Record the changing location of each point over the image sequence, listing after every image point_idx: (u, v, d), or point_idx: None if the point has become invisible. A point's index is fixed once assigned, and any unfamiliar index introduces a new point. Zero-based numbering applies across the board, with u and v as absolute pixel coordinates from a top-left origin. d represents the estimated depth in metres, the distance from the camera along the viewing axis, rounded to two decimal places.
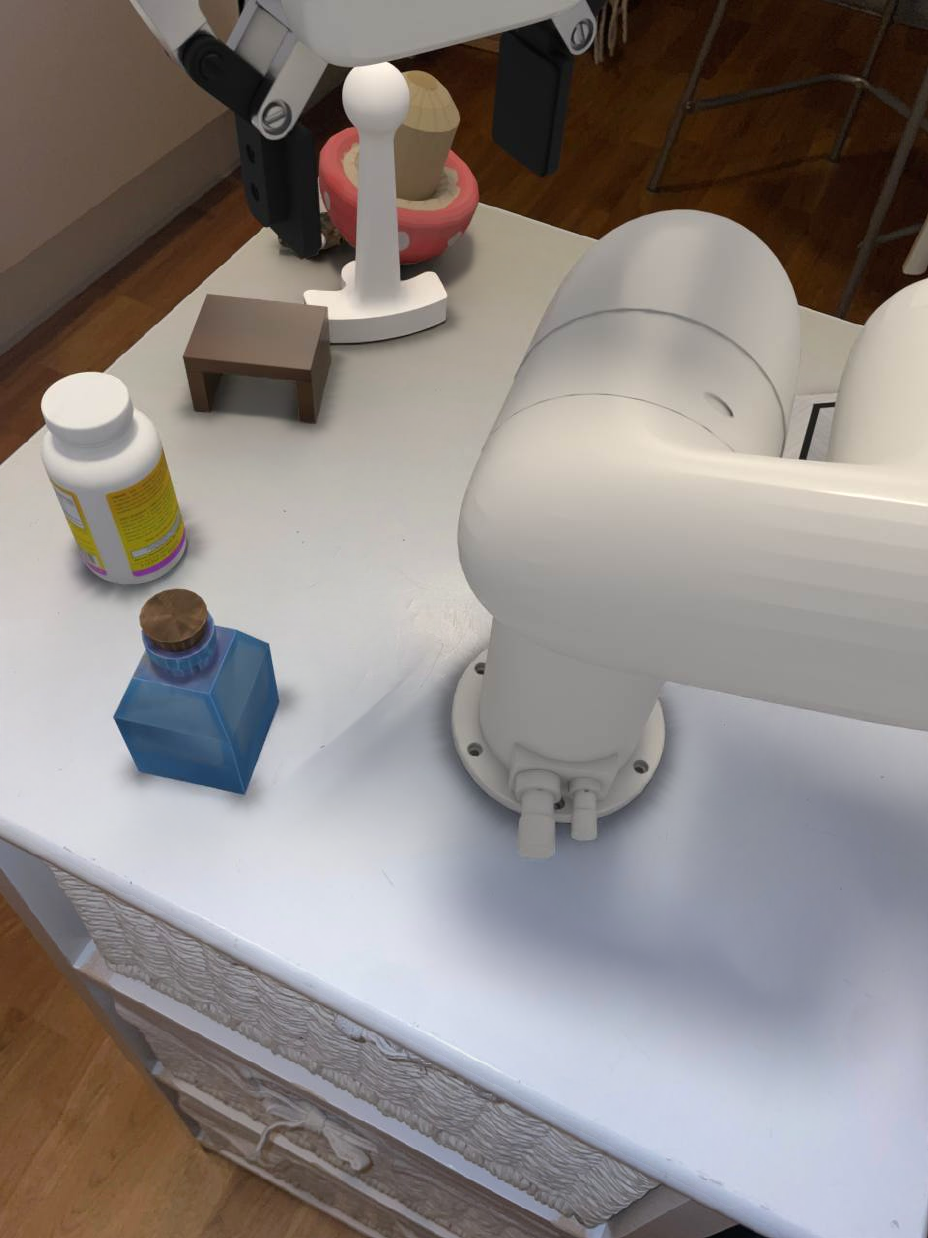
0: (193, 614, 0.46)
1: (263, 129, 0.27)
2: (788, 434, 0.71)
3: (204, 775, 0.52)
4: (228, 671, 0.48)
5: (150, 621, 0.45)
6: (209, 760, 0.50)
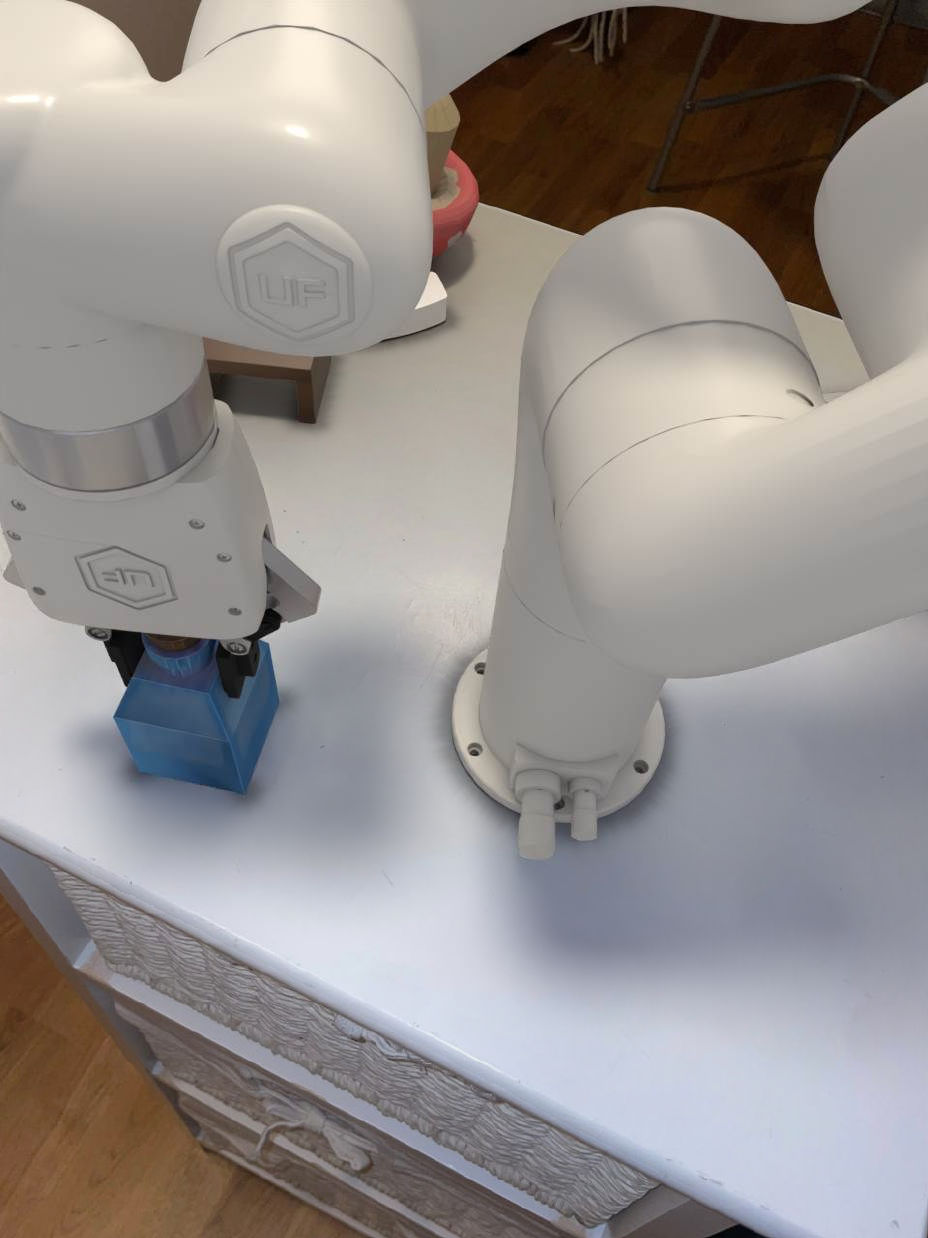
0: None
1: (90, 634, 0.45)
2: None
3: (204, 775, 0.52)
4: None
5: None
6: (209, 760, 0.50)
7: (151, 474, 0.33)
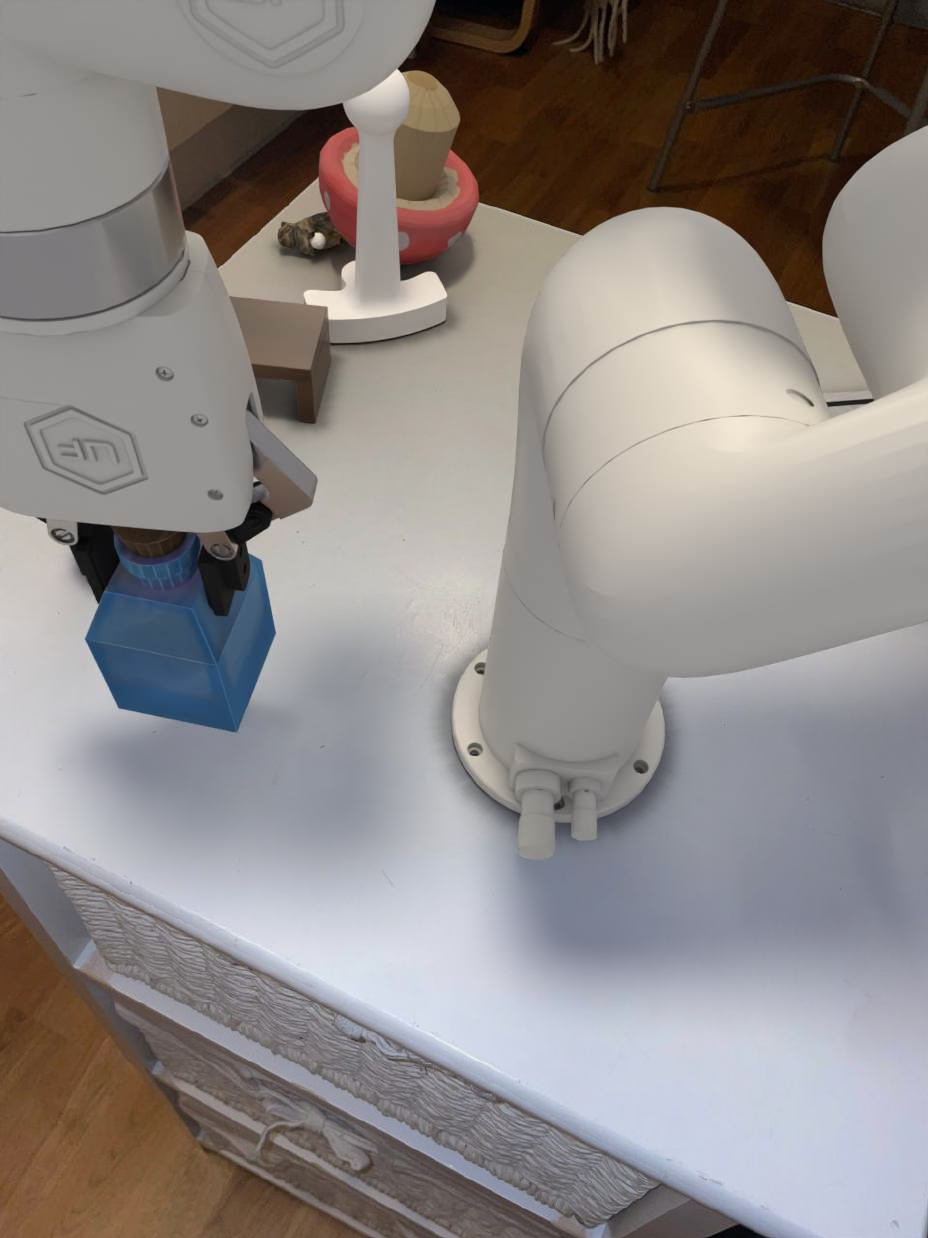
0: None
1: (54, 537, 0.39)
2: None
3: (191, 710, 0.46)
4: None
5: None
6: (195, 690, 0.45)
7: (105, 300, 0.28)
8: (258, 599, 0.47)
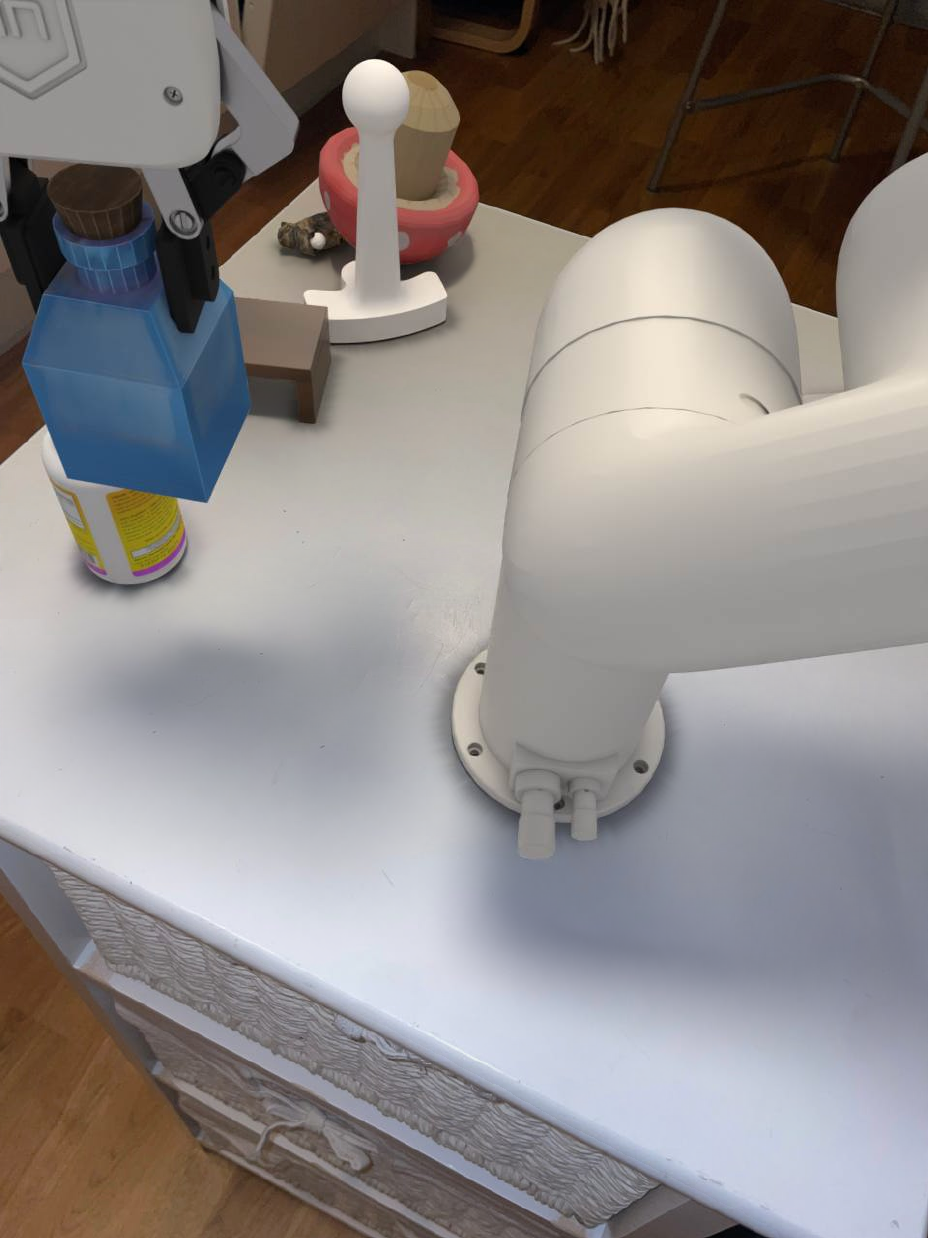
0: (122, 185, 0.33)
1: None
2: None
3: (152, 470, 0.40)
4: None
5: (62, 191, 0.33)
6: (156, 436, 0.38)
7: None
8: (230, 341, 0.40)
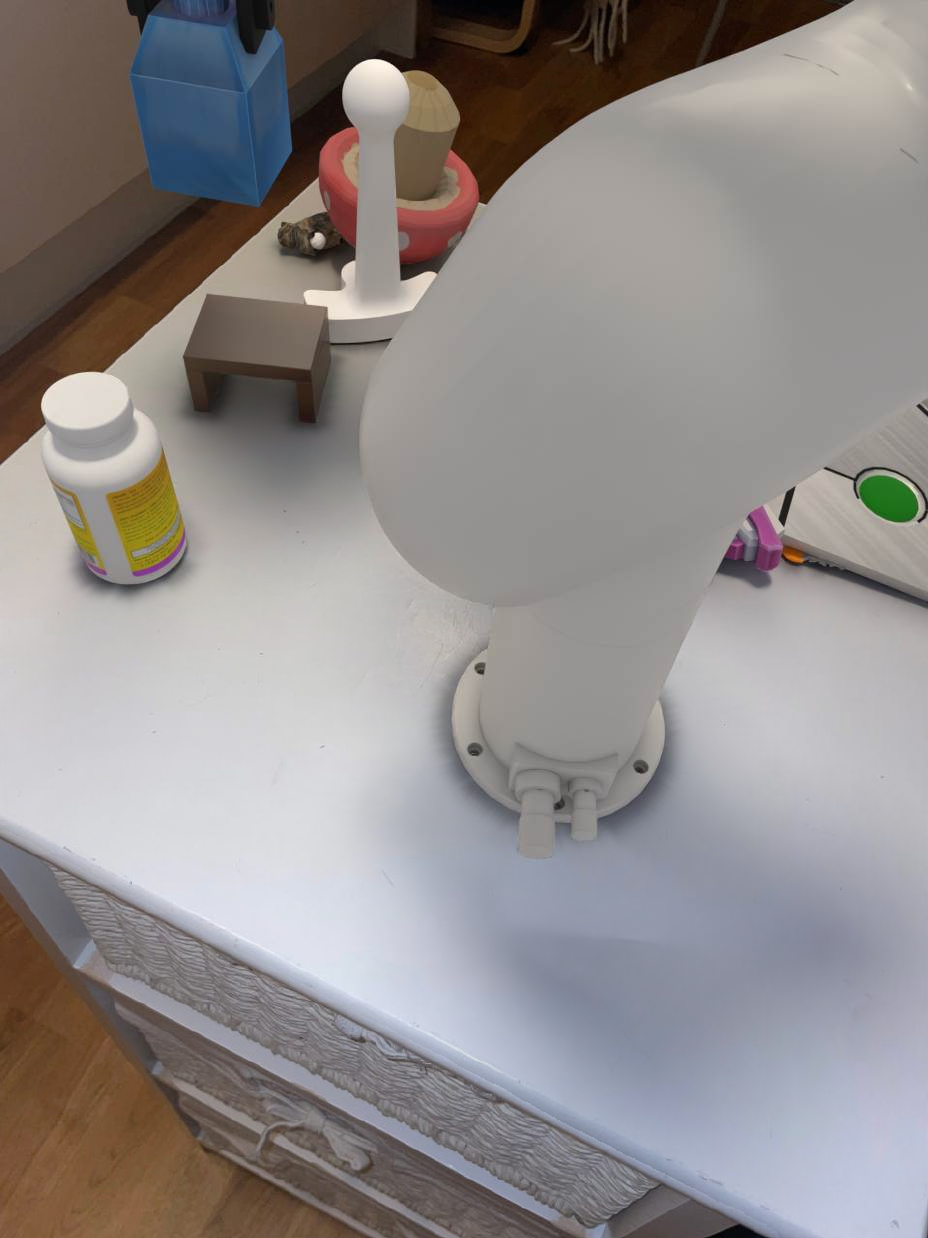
0: None
1: None
2: None
3: (219, 175, 0.52)
4: None
5: None
6: (224, 140, 0.51)
7: None
8: (279, 81, 0.53)
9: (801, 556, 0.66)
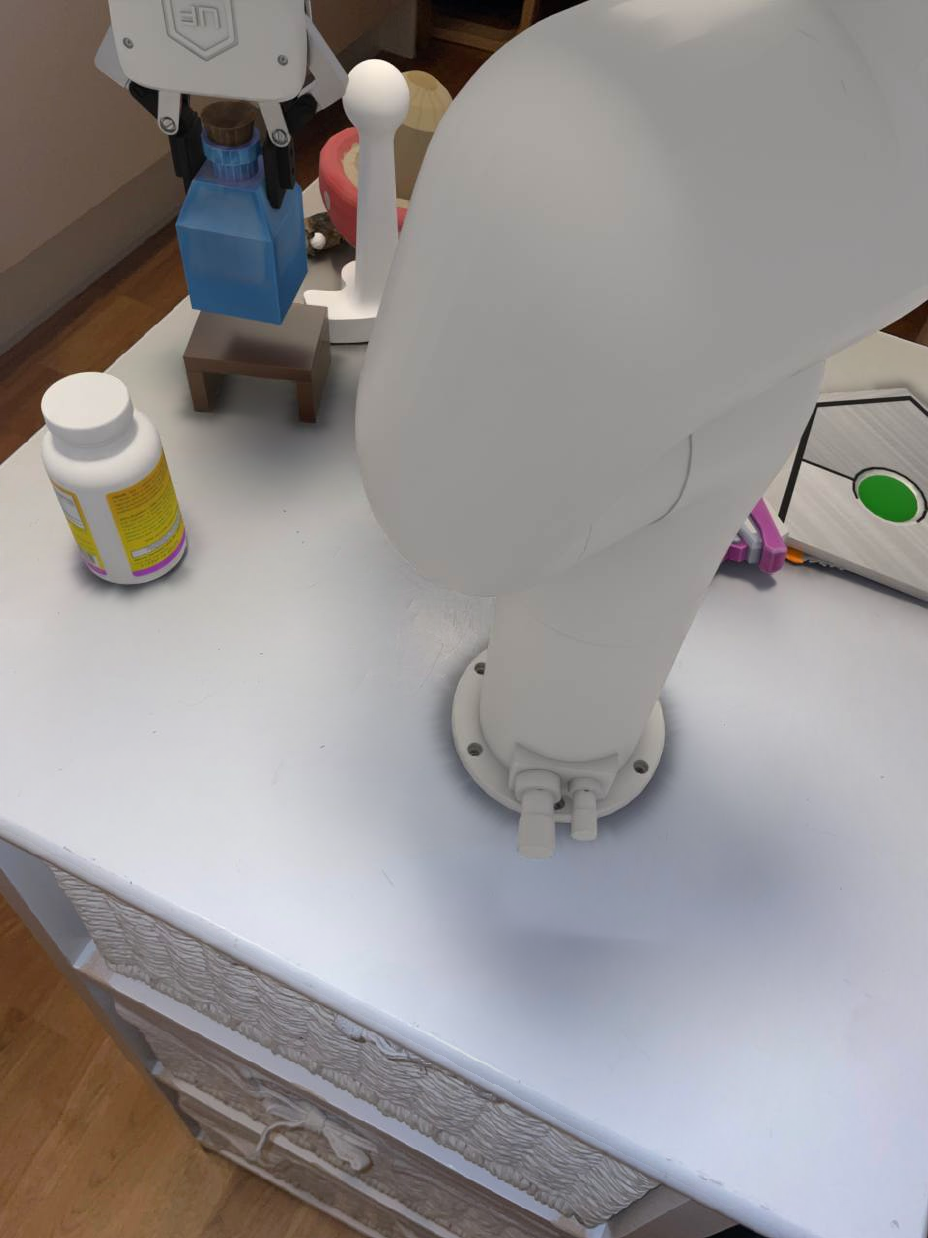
0: (244, 114, 0.56)
1: (161, 127, 0.56)
2: None
3: (247, 301, 0.63)
4: None
5: (209, 116, 0.56)
6: (253, 275, 0.61)
7: None
8: (298, 221, 0.63)
9: (801, 556, 0.66)
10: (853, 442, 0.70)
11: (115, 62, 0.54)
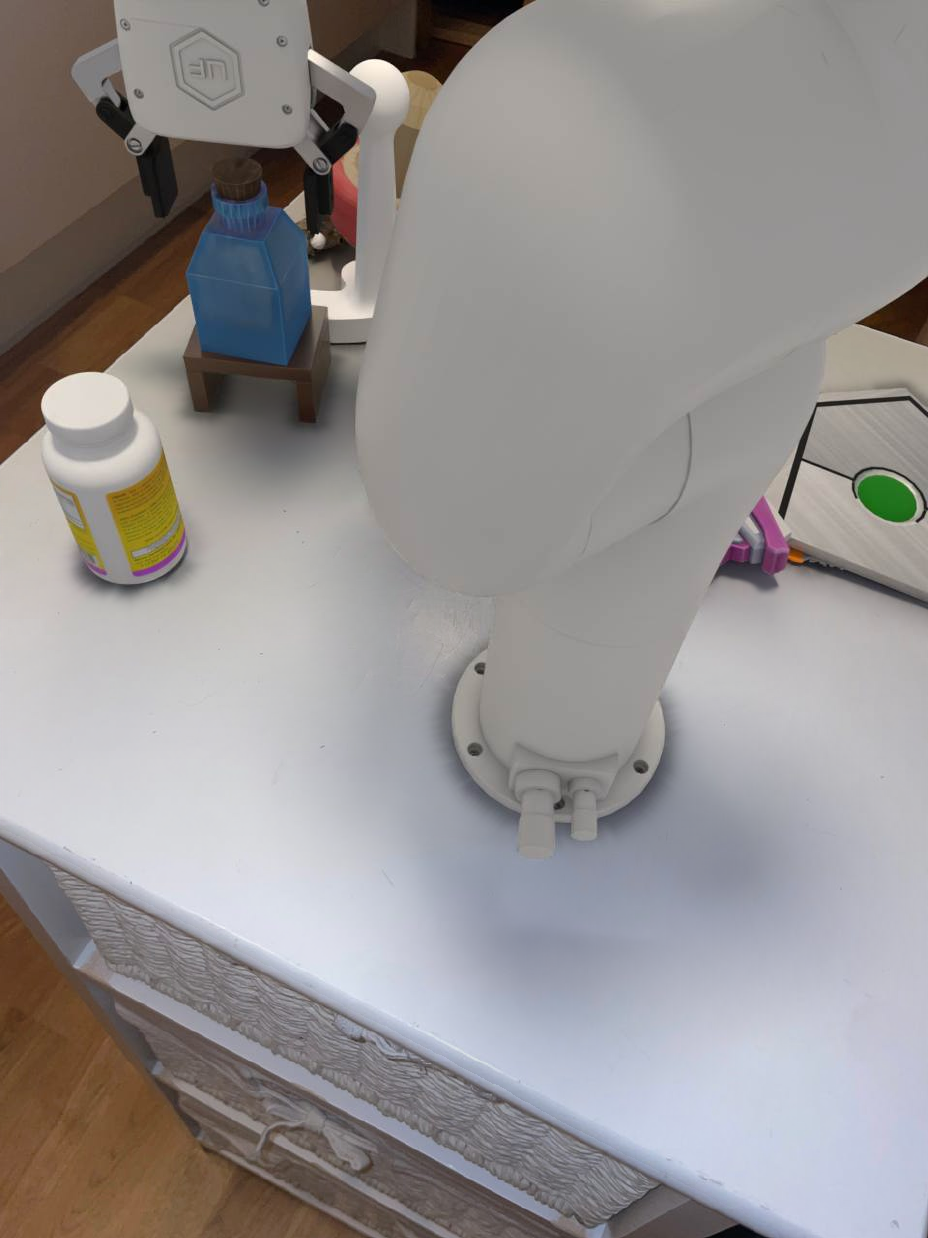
0: (251, 170, 0.59)
1: (128, 148, 0.57)
2: None
3: (255, 343, 0.66)
4: (276, 235, 0.62)
5: (218, 173, 0.59)
6: (260, 320, 0.64)
7: None
8: (302, 267, 0.66)
9: (801, 556, 0.66)
10: (853, 442, 0.70)
11: (92, 80, 0.55)
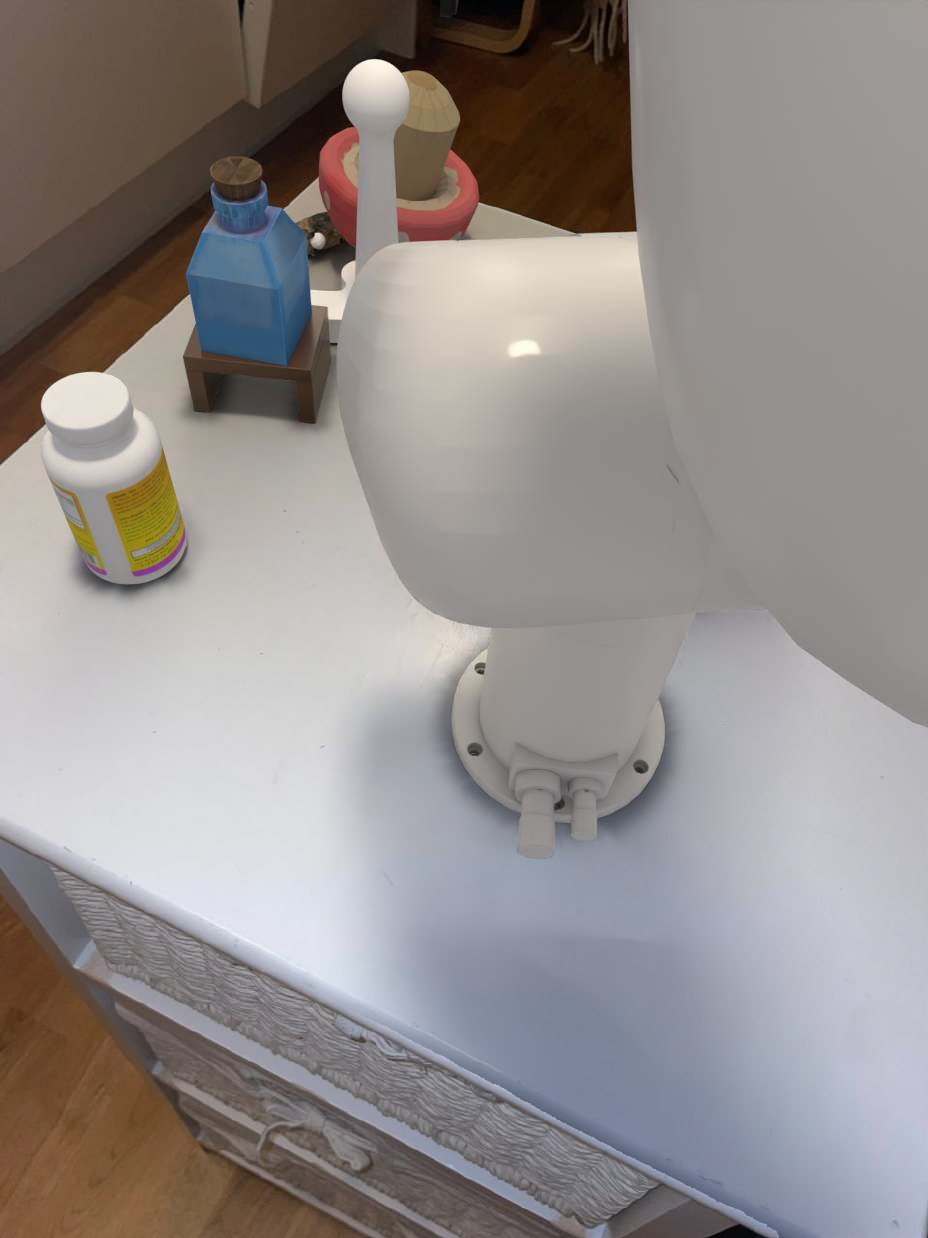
0: (251, 170, 0.59)
1: None
2: None
3: (255, 343, 0.66)
4: (276, 235, 0.62)
5: (218, 173, 0.59)
6: (260, 320, 0.64)
7: None
8: (302, 267, 0.66)
9: None
10: None
11: None
